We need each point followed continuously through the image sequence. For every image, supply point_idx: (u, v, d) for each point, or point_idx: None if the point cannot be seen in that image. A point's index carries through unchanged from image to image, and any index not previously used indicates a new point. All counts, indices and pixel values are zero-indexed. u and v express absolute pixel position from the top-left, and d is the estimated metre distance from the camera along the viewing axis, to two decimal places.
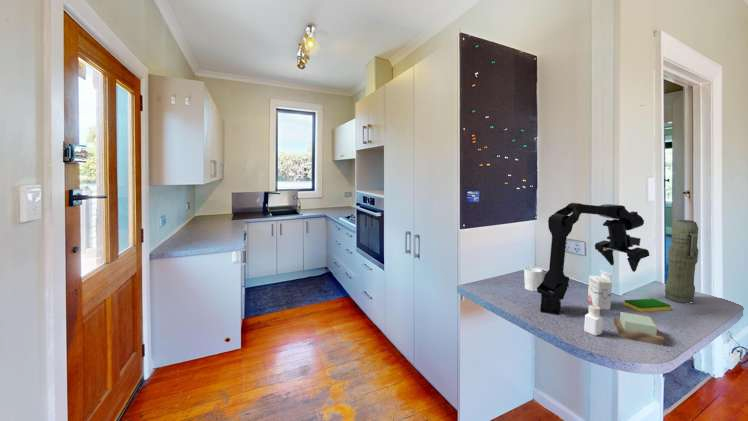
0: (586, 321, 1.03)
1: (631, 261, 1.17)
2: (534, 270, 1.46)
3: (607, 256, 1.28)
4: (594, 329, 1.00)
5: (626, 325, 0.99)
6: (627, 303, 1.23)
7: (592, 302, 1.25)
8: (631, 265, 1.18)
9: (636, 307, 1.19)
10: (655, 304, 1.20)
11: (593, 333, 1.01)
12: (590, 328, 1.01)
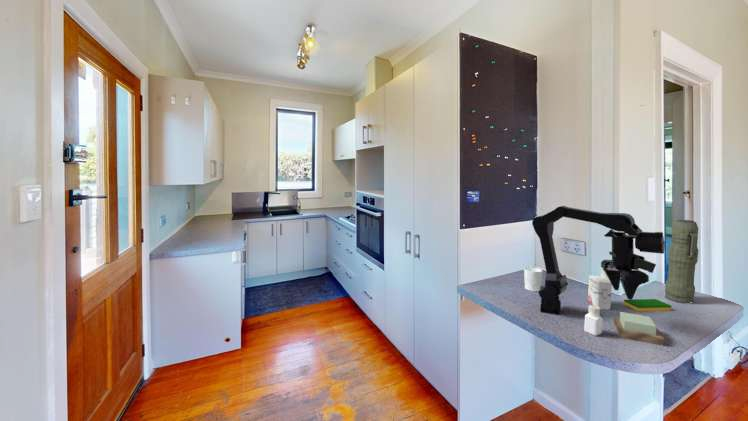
0: (586, 321, 1.03)
1: (623, 283, 0.96)
2: (534, 270, 1.46)
3: (610, 277, 1.06)
4: (594, 329, 1.00)
5: (625, 324, 1.00)
6: (626, 303, 1.23)
7: (592, 302, 1.25)
8: (624, 289, 0.97)
9: (635, 306, 1.19)
10: (655, 304, 1.19)
11: (593, 333, 1.01)
12: (590, 328, 1.01)
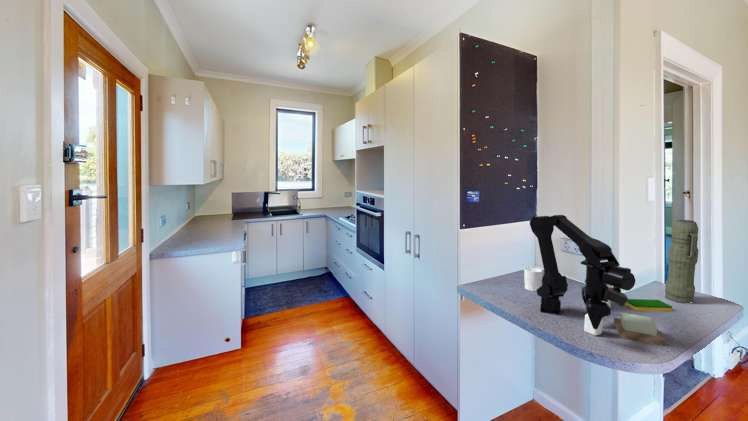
0: (586, 321, 1.03)
1: (587, 313, 0.98)
2: (534, 270, 1.46)
3: None
4: (594, 329, 1.00)
5: (626, 325, 0.99)
6: None
7: None
8: None
9: (632, 306, 1.20)
10: (655, 304, 1.19)
11: (593, 333, 1.01)
12: (590, 328, 1.01)
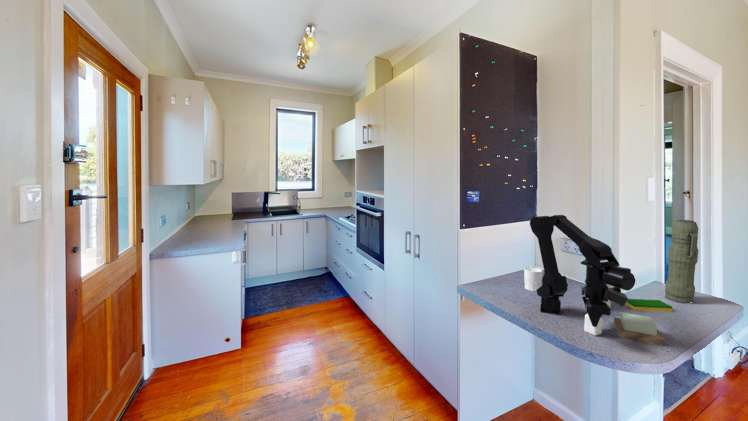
0: (586, 321, 1.03)
1: None
2: (534, 270, 1.46)
3: None
4: (594, 329, 1.00)
5: (626, 325, 0.99)
6: None
7: None
8: (589, 316, 1.00)
9: (631, 305, 1.21)
10: (655, 304, 1.19)
11: (593, 333, 1.01)
12: (590, 328, 1.01)
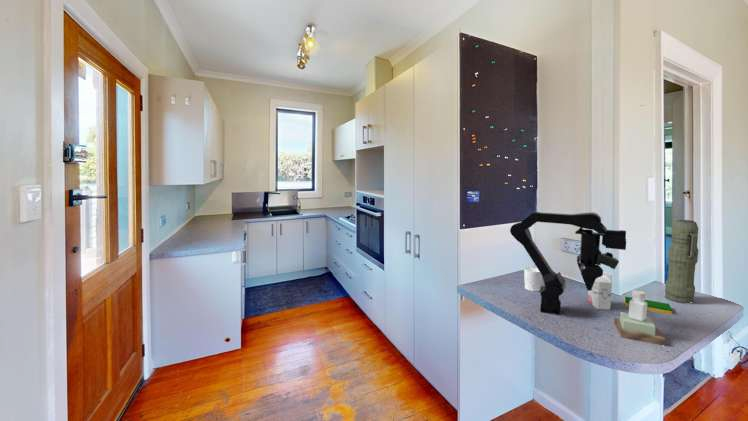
0: (631, 307, 1.01)
1: None
2: (534, 270, 1.46)
3: None
4: (641, 315, 0.99)
5: (624, 324, 1.00)
6: None
7: (592, 302, 1.25)
8: (584, 281, 1.07)
9: (625, 302, 1.24)
10: (653, 305, 1.19)
11: (640, 319, 0.99)
12: (636, 314, 1.00)
